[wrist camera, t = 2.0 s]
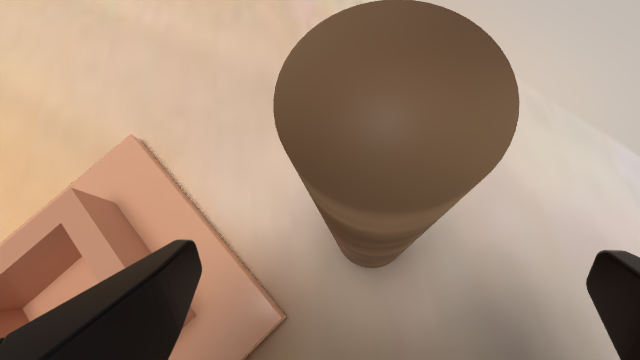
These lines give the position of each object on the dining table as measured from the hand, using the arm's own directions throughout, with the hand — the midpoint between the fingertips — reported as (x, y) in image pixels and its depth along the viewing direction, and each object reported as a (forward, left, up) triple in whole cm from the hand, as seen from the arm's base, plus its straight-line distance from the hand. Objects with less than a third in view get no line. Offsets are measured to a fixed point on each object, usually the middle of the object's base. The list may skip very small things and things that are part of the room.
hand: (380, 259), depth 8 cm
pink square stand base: (+9, +11, -9) cm, 17 cm away
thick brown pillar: (+2, -2, -9) cm, 10 cm away
